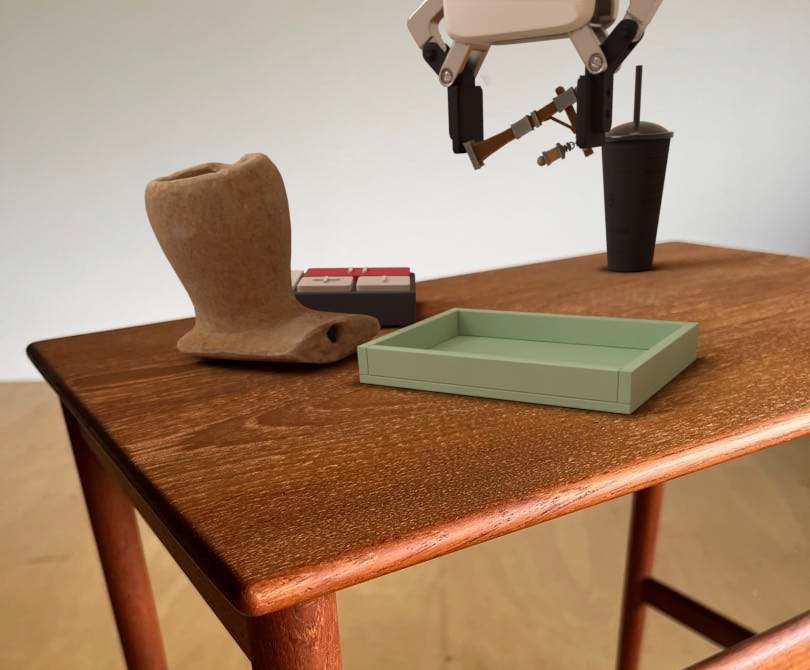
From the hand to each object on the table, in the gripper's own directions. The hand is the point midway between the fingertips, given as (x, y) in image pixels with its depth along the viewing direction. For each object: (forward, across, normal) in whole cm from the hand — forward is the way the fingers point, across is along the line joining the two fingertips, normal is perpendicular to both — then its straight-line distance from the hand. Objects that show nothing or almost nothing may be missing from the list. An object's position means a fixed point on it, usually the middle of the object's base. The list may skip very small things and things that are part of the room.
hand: (527, 148), depth 57 cm
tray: (+14, -1, +1) cm, 14 cm away
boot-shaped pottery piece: (+15, +20, +5) cm, 26 cm away
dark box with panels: (+15, +24, -10) cm, 30 cm away
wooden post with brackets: (+1, 0, 0) cm, 1 cm away
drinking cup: (+15, +8, -42) cm, 45 cm away
